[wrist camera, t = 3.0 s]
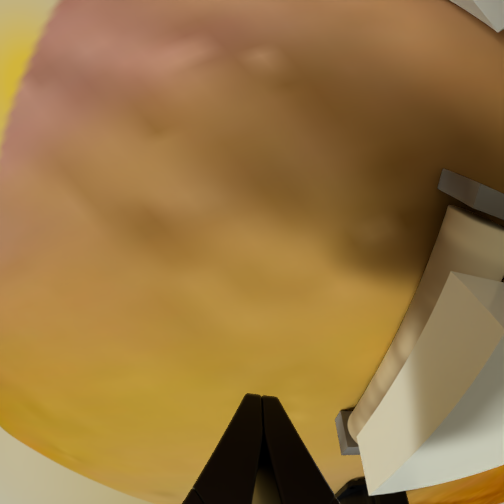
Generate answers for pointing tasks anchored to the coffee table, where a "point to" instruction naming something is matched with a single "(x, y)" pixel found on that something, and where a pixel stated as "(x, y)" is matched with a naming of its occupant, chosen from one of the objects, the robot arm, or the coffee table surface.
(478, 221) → the roller bed
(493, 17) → the die
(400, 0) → the coffee table surface
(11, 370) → the coffee table surface
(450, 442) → the slab
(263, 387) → the coffee table surface
